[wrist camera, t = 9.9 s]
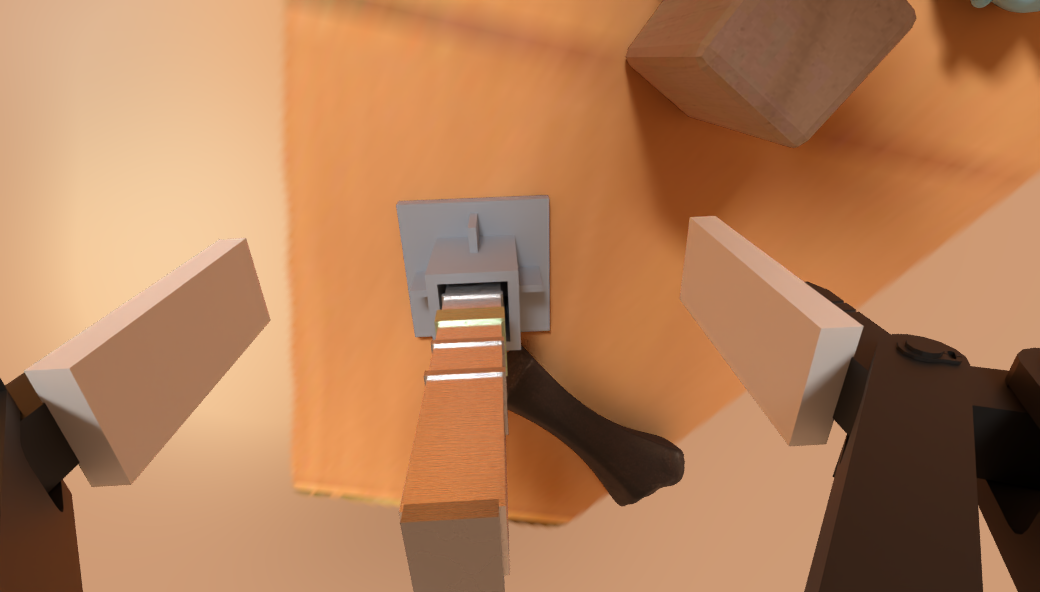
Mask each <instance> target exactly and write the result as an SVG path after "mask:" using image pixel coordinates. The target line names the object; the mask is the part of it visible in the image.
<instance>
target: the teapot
mask: <svg viewBox="0 0 1040 592" xmlns="http://www.w3.org/2000/svg"><path fill="white" fill-rule="evenodd" d="M990 2H992V3H994V4H995V5H997V6H999V7H1000V8H1002V9H1004V10H1007V11H1010V12H1017V13H1027V12H1036V11H1040V0H971V4H972V5H973V6H974V7H976V8H982V7H984V6H986V5H988V4H989V3H990Z"/></svg>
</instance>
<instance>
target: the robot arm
mask: <svg viewBox="0 0 1040 592" xmlns="http://www.w3.org/2000/svg"><path fill="white" fill-rule="evenodd" d="M680 300H681V302H682V303H683V304H684V306H685V307H686V308H687V310H688V311H689V312H690V314H691V315H692V316H693V318H694V319H695V321H696V322H697V323H698V325H699V326H700V327H701V329H702V330H703V331H704V333H705V334H706V335H707V337H708V338H709V339H710V341H711V342H712V343H713V345H714V346H715V347H716V349H717V350H718V351H719V353H720V354H721V355H722V357H723V358H724V360H725V361H726V362H727V364H728V365H729V366H730V368H731V369H732V370H733V372H734V373H735V374H736V376H737V377H738V378H739V380H740V381H741V382H742V384H743V385H744V386H745V388H746V389H747V390H748V392H749V393H750V394H751V396H752V397H753V399H754V400H755V401H756V402H757V404H758V405H759V407H760V408H761V409H762V410H763V412H764V413H765V415H766V416H767V417H768V419H769V420H770V421H771V423H772V424H773V425H774V427H775V428H776V429H777V431H778V432H779V433H780V435H781V436H782V437H783V439H784V440H785V442H786V443H787V444H788V445H789V446H800V445H801V446H803V445H819V444H826V443H827V440H828V437H829V434H830V431H831V427H832V424H833V421H834V420H835V421H836V422H837V423H838V424H839V425H840V426H841V428H842V429H843V430H844V431H845V432H846V433H847V436H846V439H845V442H844V445H843V448H842V450H841V453H840V457H839V459H838V462H837V465H836V468H835V471H834V474H833V477H834V481H833V486H832V489H831V493H830V496H829V500H828V504H827V508H826V512H825V515H824V519H823V523H822V527H821V531H820V535H819V538H818V542H817V546H816V549H815V553H814V557H813V561H812V565H811V568H810V572H809V576H808V580H807V584H806V587H805V591H804V592H983V583H982V565H981V548H980V530H979V513H978V506H979V508H980V510H981V512H982V514H983V516H984V519H985V521H986V523H987V525H988V527H989V530H990V532H991V534H992V536H993V538H994V541H995V543H996V545H997V547H998V549H999V551H1000V554H1001V556H1002V558H1003V560H1004V562H1005V564H1006V567H1007V569H1008V571H1009V573H1010V575H1011V578H1012V580H1013V582H1014V584H1015V586H1016V589H1017V591H1018V592H1040V348H1030V349H1023V350H1022V351H1021V352H1019V353H1018V354H1017V356H1016V358H1015V360H1014V362H1013V364H1012V366H1011V368H1010V370H1009V371H1006V370H998V369H990V368H981V367H972V366H970V364H969V362H968V360H967V358H966V357H965V356H964V355H962V354H961V353H960V352H959V351H957V350H956V349H954V348H952V347H950V346H947V345H945V344H943V343H941V342H938V341H935V340H932V339H928V338H925V337H920V336H914V335H908V334H892V335H891V334H889V333H888V332H886V331H885V330H884V329H882V328H881V327H879V326H878V325H877V324H875V323H874V322H872V321H871V320H870V319H868V318H867V317H865V316H864V315H863V314H861V313H860V312H856V309H854V308H853V307H851V306H850V305H849V304H847V303H844V301H843V300H842V299H840V298H839V297H837V296H836V295H835V294H833V293H832V292H830V291H829V290H827V289H824V288H822V287H819V286H817V285H815V284H812V283H810V282H803V281H802V280H801V279H799V278H798V277H797V276H795V275H794V274H793V273H791V272H790V271H789V270H787V269H786V268H785V267H783V266H782V265H781V264H779V263H778V262H777V261H775V260H774V259H772V258H771V257H770V256H768V255H767V254H766V253H764V252H763V251H762V250H760V249H759V248H758V247H756V246H755V245H754V244H752V243H751V242H750V241H748V240H747V239H746V238H744V237H743V236H742V235H740V234H739V233H738V232H736V231H735V230H734V229H732V228H731V227H729V226H728V225H727V224H725V223H724V222H723V221H721V220H720V219H719V218H717V217H716V216H701V217H690V219H689V228H688V236H687V244H686V252H685V260H684V268H683V277H682V285H681V293H680ZM269 321H270V317H269V314H268V310H267V307H266V303H265V300H264V297H263V293H262V290H261V287H260V283H259V280H258V277H257V273H256V270H255V267H254V263H253V260H252V257H251V254H250V250H249V247H248V243H247V240H246V238H239V239H219V240H218V241H216V242H215V243H213V244H212V245H210V246H209V247H207V248H206V249H205V250H203V251H201V252H200V253H199V254H197V255H196V256H194V257H193V258H191V259H190V260H188V261H187V262H185V263H184V264H182V265H181V266H179V267H178V268H176V269H175V270H173V271H172V272H170V273H169V274H167V275H166V276H164V277H163V278H161V279H160V280H158V281H157V282H155V283H154V284H152V285H151V286H149V287H148V288H146V289H145V290H143V291H142V292H140V293H139V294H137V295H136V296H134V297H133V298H131V299H130V300H128V301H127V302H126V303H124V304H123V305H121V306H120V307H118V308H117V309H115V310H114V311H112V312H111V313H109V314H108V315H106V316H105V317H103V318H102V319H100V320H99V321H97V322H96V323H94V324H93V325H91V326H90V327H88V328H87V329H85V330H84V331H82V332H81V333H79V334H78V335H76V336H75V337H73V338H72V339H70V340H69V341H67V342H66V343H64V344H63V345H61V346H60V347H58V348H57V349H55V350H54V351H53V352H51V353H50V354H48V355H46V356H45V357H44V358H42V359H41V360H39V361H38V362H36V363H35V364H33V365H32V366H30V367H29V368H27V369H26V370H24V373H23V374H21V375H20V376H19V377H17V378H16V379H14V380H13V381H11V382H10V383H8V384H7V385H4V384H3V382H2V380H1V379H0V592H83V590H82V581H81V572H80V564H79V554H78V545H77V537H76V529H75V519H74V512H73V511H74V510H73V502H72V494H71V492H70V490H69V489H68V488H67V486H66V484H65V482H64V481H63V478H64V477H65V476H66V475H67V474H68V473H69V472H70V471H71V470H73V468H74V467H76V466H77V465H78V464H79V466H80V468H81V469H82V471H83V473H84V475H85V476H86V478H87V480H88V481H89V483H90V485H91V486H92V487H99V486H116V485H131V484H132V483H133V482H134V481H135V480H136V478H137V477H138V476H139V475H140V473H141V472H142V471H143V470H144V469H145V468H146V467H147V465H148V464H149V463H150V462H151V461H152V460H153V458H154V457H155V456H156V455H157V454H158V452H159V451H160V450H161V449H162V448H163V447H164V445H165V444H166V443H167V442H168V441H169V439H170V438H171V437H172V436H173V435H174V434H175V432H176V431H177V430H178V429H179V428H180V427H181V425H182V424H183V423H184V422H185V421H186V419H187V418H188V417H189V416H190V415H191V413H192V412H193V411H194V410H195V409H196V408H197V407H198V405H199V404H200V403H201V402H202V401H203V399H204V398H205V397H206V396H207V395H208V394H209V392H210V391H211V390H212V389H213V388H214V386H215V385H216V384H217V383H218V382H219V381H220V379H221V378H222V377H223V376H224V375H225V373H226V372H227V371H228V370H229V369H230V367H231V366H232V365H233V364H234V363H235V362H236V360H237V359H238V358H239V357H240V356H241V355H242V353H243V352H244V351H245V350H246V349H247V348H248V346H249V345H250V344H251V343H252V342H253V340H254V339H255V338H256V337H257V335H259V333H260V332H261V331H262V330H263V329H264V327H265V326H266V325H267V324H268V323H269Z"/></svg>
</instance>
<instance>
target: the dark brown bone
mask: <svg viewBox="0 0 1040 592" xmlns="http://www.w3.org/2000/svg"><path fill="white" fill-rule="evenodd" d="M507 373H508V376H506V383H507V409H508V410H510V411H512V412H514V413H516V414H518V415H520V416H523V417H525V418H526V419H528V420H530V421H532V422H534V423H536V424H537V425H539V426H541V427H542V428H544V429H546V430H547V431H549V432H550V433H552V434H553V435H555V436H556V437H557V438H559V439H560V440H561V441H563V442H564V443H565V444H566V445H568V446H569V447H570V448H571V449H572V450H574V452H576V453H577V454H578V455H579V456H580V457H581V458H582V459H583V460H584V462H585V463H586V464H587V465H588V466H589V467H590V468H591V469H592V471H593V472H594V473H595V475H596V476H597V477H598V478H599V480H600V481H601V482H602V484H603V485H604V487H605V488H606V490H607V491H608V492H609V494H610V495H611V496H612V498H613V499H614V500H615V502H616V503H617V504H619V505H620V506H625V505H628V504H634V503H636V502H637V501H639V500H640V499H642V498H643V497H646V496H649V495H651V494H653V493H654V492H655V491H657V490H658V489H659V488H662V487H667V486H672V485H675V484H676V483H678V482H679V481H680V480H681V479H682V477H683V474H684V462H685V461H684V454H683V452H682V450H681V449H679V448H678V447H677V446H675V445H674V444H673V443H671V442H670V441H668V440H666V439H664V438H662V437H659V436H657V435H652V434H648V433H644V432H640V431H636V430H633V429H629V428H626V427H623V426H621V425H618V424H616V423H614V422H612V421H610V420H608V419H606V418H604V417H602V416H600V415H599V414H597V413H595V412H594V411H592V410H591V409H589V408H588V407H586V406H585V405H583V404H582V403H581V402H580V401H578V400H577V399H576V398H574V397H573V396H572V395H571V394H570V393H568V392H567V391H566V390H565V389H564V388H563V387H562V386H560V384H558V383H557V382H556V381H555V380H554V379H553V378H552V377H551V376H550V375H549V373H547V372H546V370H545V369H544V368H543V367H542V366H541V365H540V364H539V363H538V362H537V361H536V360H535V359H534V358H533V357H532V356H531V355H530V354H529V353H528V351H527V350H526V349H525V348H524V347H523V346H521V350H510V351H509V352H507Z"/></svg>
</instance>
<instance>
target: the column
mask: <svg viewBox="0 0 1040 592" xmlns="http://www.w3.org/2000/svg"><path fill="white" fill-rule="evenodd" d="M434 323H435V331H436V339H435V340H432V341H431V349H432V358H431V362H430V367H429V371H425V373H424V381H425V391H424V396H423V400H422V405H421V410H420V415H419V419H418V424H417V429H416V434H415V438H414V443H413V448H412V452H411V457H410V462H409V467H408V471H407V476H406V481H405V486H404V490H403V495H402V500H401V505H400V509H399V516H400V525H401V530H402V535H403V540H404V545H405V550H406V555H407V560H408V565H409V570H410V575H411V580H412V586H413V590H414V592H505V588H504V575H510V566H509V531H508V496H507V462H506V435H509V433H508V412H507V383H506V376H508V373H507V351H506V331H505V311H504V307H503V291H501V287H500V282H480V283H459V284H447V287H446V291H445V294H442V310H437V312H436V316H435V321H434Z"/></svg>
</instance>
